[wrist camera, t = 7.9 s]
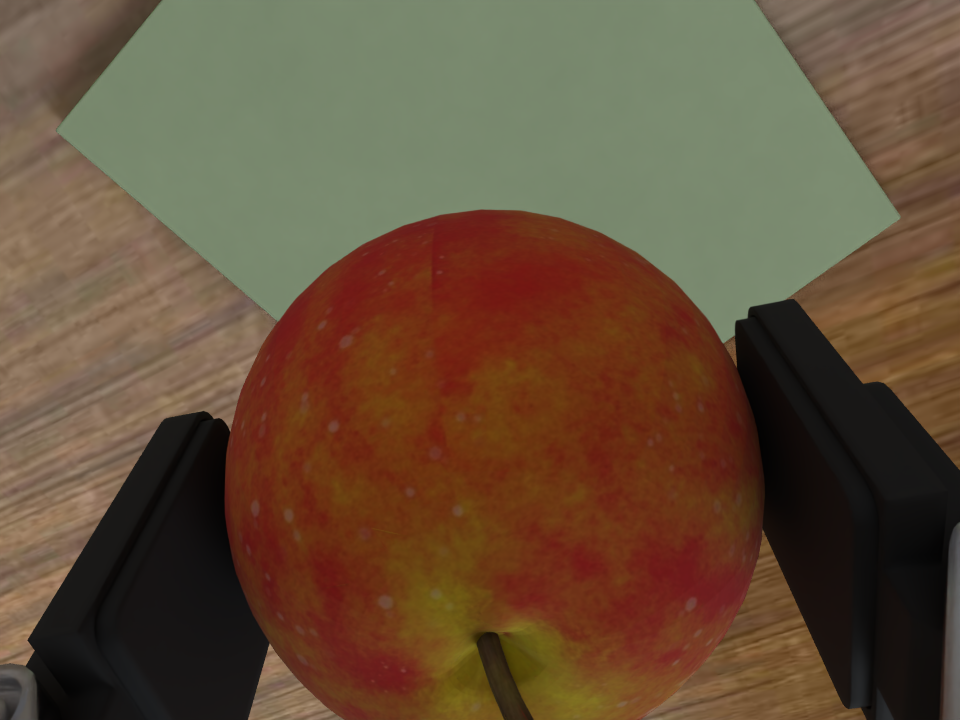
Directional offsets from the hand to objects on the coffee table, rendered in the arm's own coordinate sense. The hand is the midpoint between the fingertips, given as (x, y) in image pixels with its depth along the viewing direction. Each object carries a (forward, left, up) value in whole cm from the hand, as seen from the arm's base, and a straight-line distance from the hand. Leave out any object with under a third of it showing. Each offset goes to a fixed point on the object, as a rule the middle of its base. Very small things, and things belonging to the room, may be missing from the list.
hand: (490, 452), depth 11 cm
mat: (0, 0, -14) cm, 14 cm away
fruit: (0, 0, -3) cm, 3 cm away
